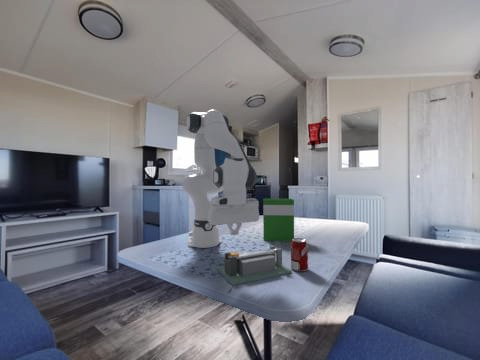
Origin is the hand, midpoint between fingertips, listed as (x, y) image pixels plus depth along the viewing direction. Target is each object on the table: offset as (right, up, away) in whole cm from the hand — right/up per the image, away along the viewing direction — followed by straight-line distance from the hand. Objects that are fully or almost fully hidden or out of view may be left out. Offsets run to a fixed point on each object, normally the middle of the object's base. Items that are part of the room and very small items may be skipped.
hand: (234, 234), depth 92 cm
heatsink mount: (+8, -15, +3) cm, 17 cm away
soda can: (+26, -15, +5) cm, 31 cm away
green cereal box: (+25, -15, +51) cm, 59 cm away
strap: (+8, -9, +3) cm, 12 cm away
